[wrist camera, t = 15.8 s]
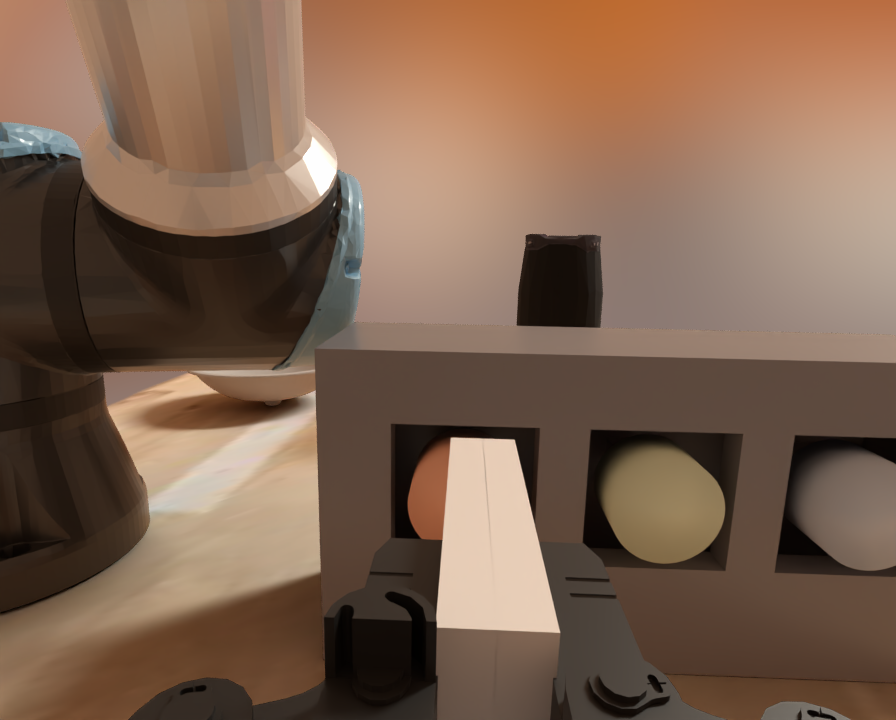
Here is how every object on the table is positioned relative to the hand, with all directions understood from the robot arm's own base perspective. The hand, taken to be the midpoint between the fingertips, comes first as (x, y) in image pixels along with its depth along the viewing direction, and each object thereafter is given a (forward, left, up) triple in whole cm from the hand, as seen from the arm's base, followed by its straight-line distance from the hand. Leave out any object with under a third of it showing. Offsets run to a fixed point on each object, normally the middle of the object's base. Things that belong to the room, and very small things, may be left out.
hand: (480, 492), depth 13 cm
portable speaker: (+10, +48, -12) cm, 51 cm away
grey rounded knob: (+16, +11, -6) cm, 20 cm away
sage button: (+8, +11, -6) cm, 15 cm away
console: (+8, +13, -12) cm, 19 cm away
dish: (-22, +49, -13) cm, 55 cm away
